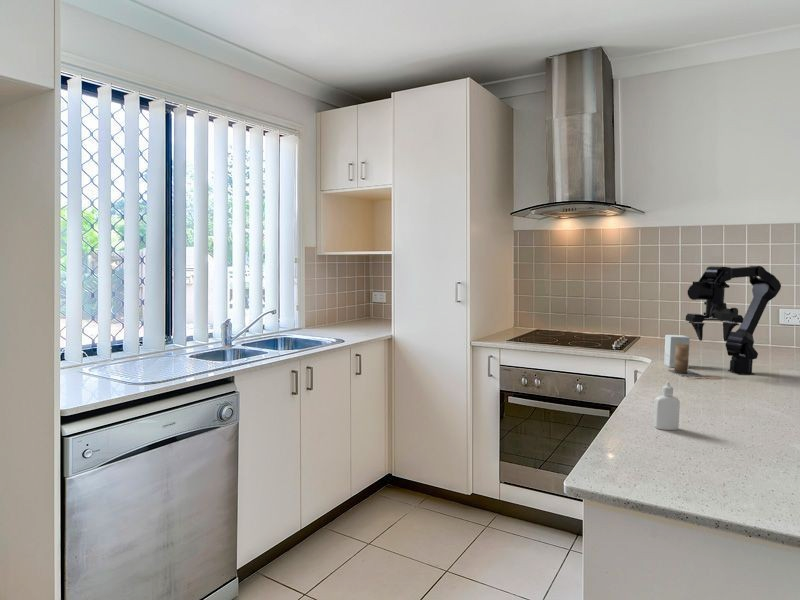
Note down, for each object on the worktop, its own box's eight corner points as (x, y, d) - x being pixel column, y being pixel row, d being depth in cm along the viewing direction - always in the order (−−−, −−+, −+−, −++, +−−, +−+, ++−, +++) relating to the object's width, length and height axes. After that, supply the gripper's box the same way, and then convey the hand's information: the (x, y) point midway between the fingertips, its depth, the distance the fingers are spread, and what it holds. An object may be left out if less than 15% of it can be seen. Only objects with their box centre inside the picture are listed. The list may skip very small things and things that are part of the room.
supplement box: (688, 368, 210) (690, 337, 209) (668, 367, 211) (670, 336, 210) (682, 365, 217) (684, 334, 216) (663, 364, 219) (664, 334, 218)
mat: (689, 371, 204) (689, 370, 204) (703, 376, 194) (703, 375, 194) (668, 371, 204) (668, 369, 204) (682, 376, 194) (682, 375, 194)
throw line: (718, 378, 192) (718, 377, 192) (720, 379, 191) (720, 378, 191) (685, 378, 192) (685, 377, 192) (687, 378, 191) (687, 377, 191)
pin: (687, 372, 200) (688, 344, 199) (687, 374, 196) (688, 345, 196) (674, 371, 202) (675, 343, 201) (674, 373, 198) (675, 344, 198)
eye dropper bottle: (654, 424, 136) (656, 378, 135) (678, 427, 133) (681, 381, 132) (652, 428, 132) (655, 382, 132) (677, 432, 130) (680, 384, 129)
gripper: (702, 301, 188) (700, 343, 189) (754, 301, 188) (751, 344, 189) (685, 298, 199) (683, 339, 200) (734, 299, 199) (732, 340, 200)
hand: (712, 340), depth 197 cm, fingers open, 9 cm apart
